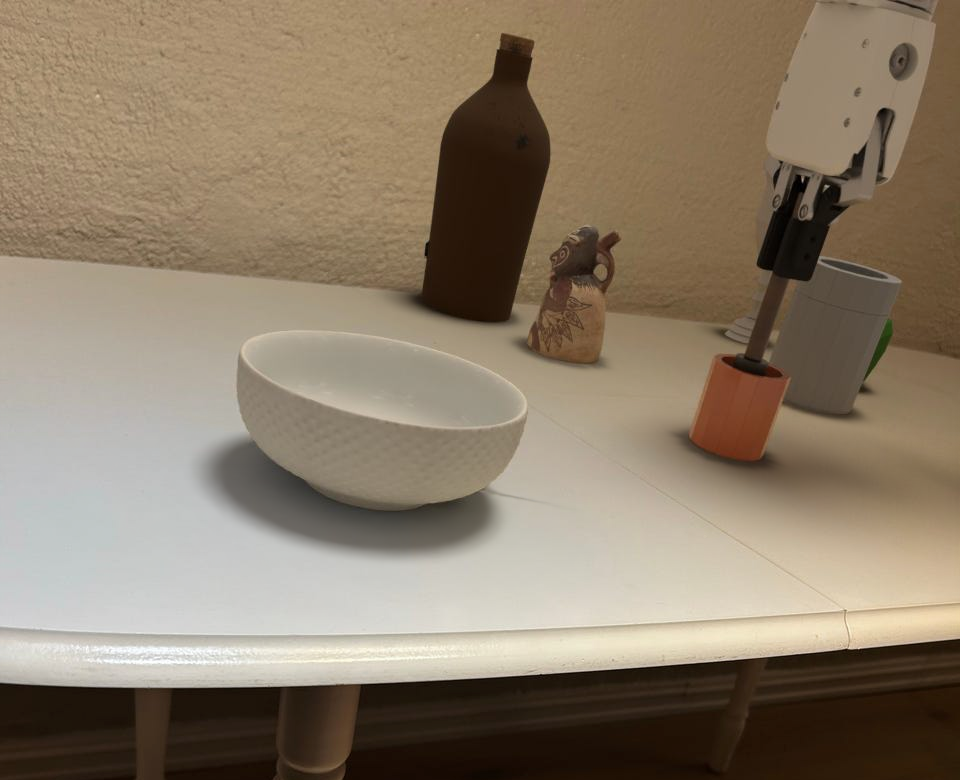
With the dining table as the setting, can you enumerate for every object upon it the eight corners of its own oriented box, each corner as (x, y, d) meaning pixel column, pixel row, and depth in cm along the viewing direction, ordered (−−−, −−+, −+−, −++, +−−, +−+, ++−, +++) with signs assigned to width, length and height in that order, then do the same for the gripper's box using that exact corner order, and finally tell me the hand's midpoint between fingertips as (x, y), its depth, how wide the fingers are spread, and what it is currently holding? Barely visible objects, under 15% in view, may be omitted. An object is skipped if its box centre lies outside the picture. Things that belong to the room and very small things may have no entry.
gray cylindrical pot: (836, 397, 108) (885, 270, 102) (859, 425, 100) (914, 288, 94) (752, 379, 108) (797, 249, 101) (769, 405, 100) (819, 266, 93)
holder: (752, 446, 87) (781, 364, 83) (766, 472, 82) (798, 386, 78) (682, 431, 87) (709, 348, 83) (692, 456, 81) (721, 369, 78)
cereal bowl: (559, 522, 64) (588, 413, 61) (346, 571, 53) (367, 440, 50) (385, 421, 74) (402, 321, 70) (173, 444, 62) (180, 327, 59)
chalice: (711, 337, 122) (763, 172, 113) (717, 327, 127) (767, 169, 118) (772, 354, 120) (829, 189, 111) (776, 343, 126) (831, 185, 117)
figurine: (537, 338, 103) (566, 212, 98) (604, 359, 102) (638, 231, 96) (515, 351, 97) (545, 217, 91) (587, 373, 96) (622, 238, 90)
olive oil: (534, 321, 110) (594, 54, 97) (477, 330, 101) (536, 40, 89) (453, 291, 114) (502, 32, 102) (393, 298, 106) (438, 17, 93)
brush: (744, 418, 84) (822, 195, 76) (750, 428, 82) (830, 200, 73) (713, 411, 84) (787, 187, 75) (718, 421, 81) (795, 191, 73)
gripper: (1008, 8, 63) (887, 311, 73) (853, -5, 76) (766, 256, 85) (914, -22, 61) (801, 297, 70) (769, -31, 73) (688, 242, 82)
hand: (782, 272), depth 77 cm, fingers closed on brush, 1 cm apart
